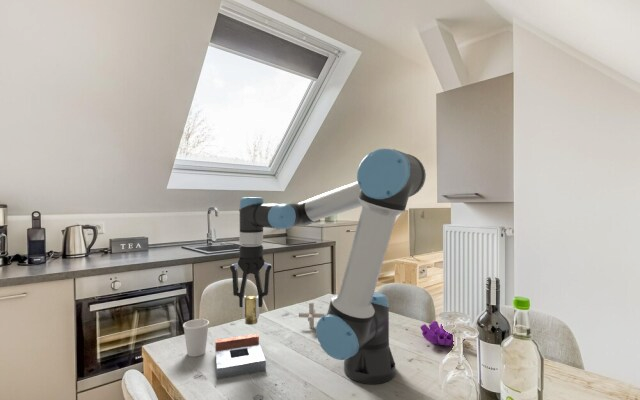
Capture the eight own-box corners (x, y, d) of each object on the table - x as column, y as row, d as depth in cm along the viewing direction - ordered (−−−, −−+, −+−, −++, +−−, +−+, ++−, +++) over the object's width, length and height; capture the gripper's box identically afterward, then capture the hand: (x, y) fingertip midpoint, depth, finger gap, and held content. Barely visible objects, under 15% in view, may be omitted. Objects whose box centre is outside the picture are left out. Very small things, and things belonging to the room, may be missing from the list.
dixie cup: (197, 345, 118) (197, 317, 118) (214, 350, 114) (214, 321, 114) (177, 355, 111) (177, 325, 111) (195, 360, 107) (194, 329, 107)
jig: (265, 370, 100) (265, 353, 100) (217, 379, 95) (216, 361, 95) (257, 348, 115) (257, 333, 115) (215, 354, 110) (215, 339, 110)
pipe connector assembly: (443, 363, 109) (425, 339, 110) (430, 343, 124) (414, 323, 125) (471, 342, 109) (452, 319, 109) (454, 325, 124) (438, 304, 124)
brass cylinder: (258, 319, 110) (258, 295, 110) (256, 324, 106) (256, 299, 106) (246, 320, 110) (246, 295, 110) (243, 324, 106) (243, 299, 106)
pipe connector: (325, 323, 137) (324, 299, 137) (323, 332, 127) (322, 306, 127) (301, 322, 138) (300, 298, 138) (297, 332, 128) (296, 306, 128)
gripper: (278, 243, 112) (277, 312, 112) (228, 243, 111) (227, 312, 111) (276, 246, 104) (275, 320, 105) (222, 246, 103) (222, 321, 104)
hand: (251, 316), depth 108 cm, fingers closed on brass cylinder, 3 cm apart
